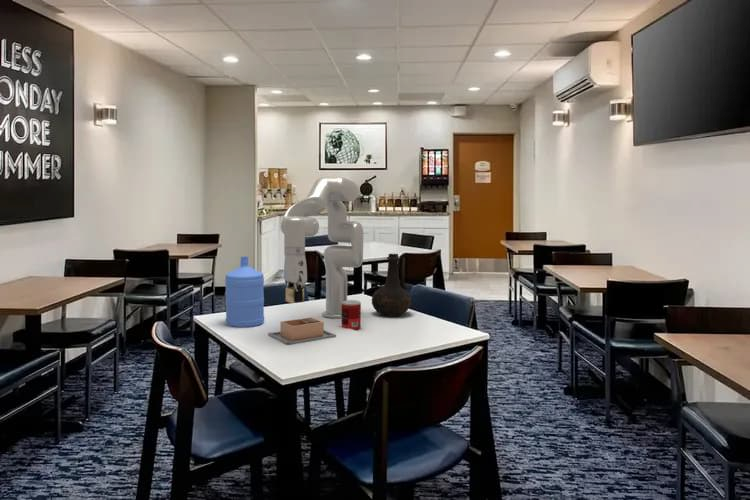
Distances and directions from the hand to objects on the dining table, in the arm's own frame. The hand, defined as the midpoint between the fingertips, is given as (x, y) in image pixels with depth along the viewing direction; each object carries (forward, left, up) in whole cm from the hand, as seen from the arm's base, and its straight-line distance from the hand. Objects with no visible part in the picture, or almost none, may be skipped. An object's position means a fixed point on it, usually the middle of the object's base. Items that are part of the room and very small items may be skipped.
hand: (294, 300), depth 197 cm
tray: (-3, 0, -15) cm, 15 cm away
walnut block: (-6, 0, -14) cm, 15 cm away
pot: (-3, 0, -14) cm, 14 cm away
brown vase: (-57, -15, -15) cm, 61 cm away
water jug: (+5, -35, -15) cm, 39 cm away
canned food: (-27, -3, -15) cm, 31 cm away
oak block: (0, 0, -1) cm, 1 cm away
